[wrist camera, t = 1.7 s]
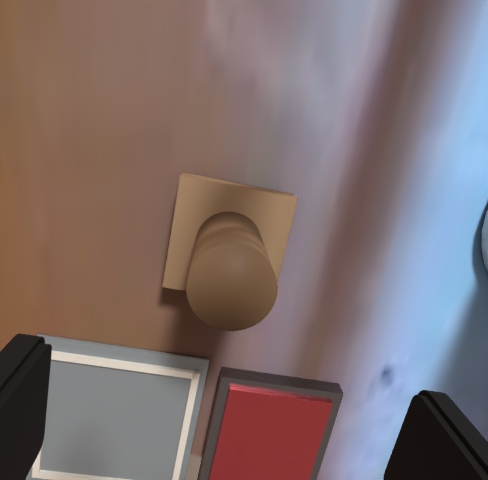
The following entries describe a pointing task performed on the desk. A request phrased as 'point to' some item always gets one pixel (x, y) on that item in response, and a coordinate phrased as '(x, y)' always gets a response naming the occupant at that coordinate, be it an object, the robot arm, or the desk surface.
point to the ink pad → (268, 427)
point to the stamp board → (118, 413)
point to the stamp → (228, 249)
